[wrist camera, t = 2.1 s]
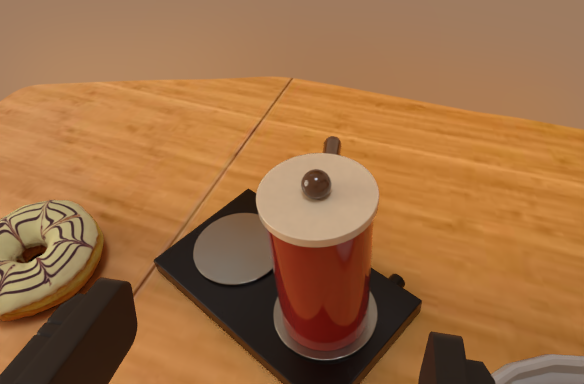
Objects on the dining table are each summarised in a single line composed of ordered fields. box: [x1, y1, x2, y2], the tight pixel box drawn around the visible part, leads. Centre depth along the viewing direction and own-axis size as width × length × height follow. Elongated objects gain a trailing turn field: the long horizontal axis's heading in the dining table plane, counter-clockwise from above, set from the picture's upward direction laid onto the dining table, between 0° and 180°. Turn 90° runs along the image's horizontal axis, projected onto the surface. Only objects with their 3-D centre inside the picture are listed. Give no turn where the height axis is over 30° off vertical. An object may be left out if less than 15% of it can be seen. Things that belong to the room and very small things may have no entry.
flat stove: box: [154, 189, 422, 384], centre depth 37 cm, size 11×18×2 cm, turn 47°
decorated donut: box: [0, 200, 104, 321], centre depth 40 cm, size 10×11×4 cm
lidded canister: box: [256, 136, 379, 351], centre depth 32 cm, size 12×6×13 cm, turn 172°
